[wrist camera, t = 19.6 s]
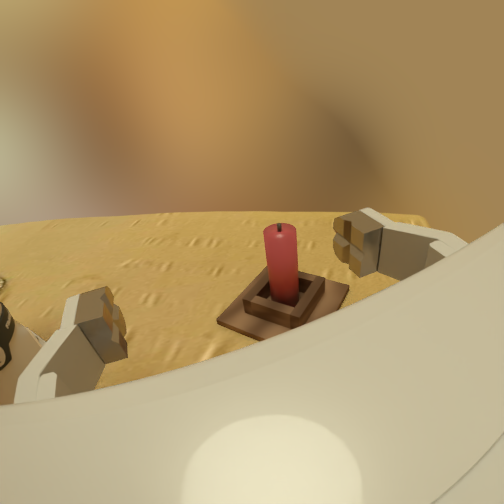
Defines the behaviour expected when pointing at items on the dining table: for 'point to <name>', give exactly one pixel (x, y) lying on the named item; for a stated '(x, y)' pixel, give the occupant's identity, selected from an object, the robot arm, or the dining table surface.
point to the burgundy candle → (282, 263)
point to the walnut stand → (281, 306)
